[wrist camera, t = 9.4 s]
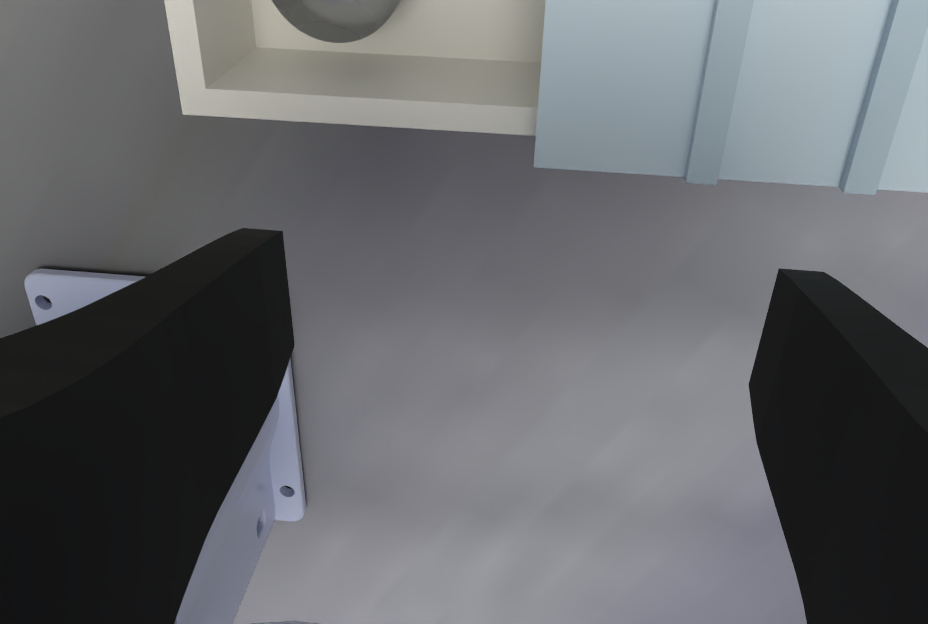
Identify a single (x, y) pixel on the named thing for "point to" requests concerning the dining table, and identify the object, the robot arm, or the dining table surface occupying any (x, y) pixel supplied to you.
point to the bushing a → (337, 17)
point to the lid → (738, 91)
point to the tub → (364, 66)
